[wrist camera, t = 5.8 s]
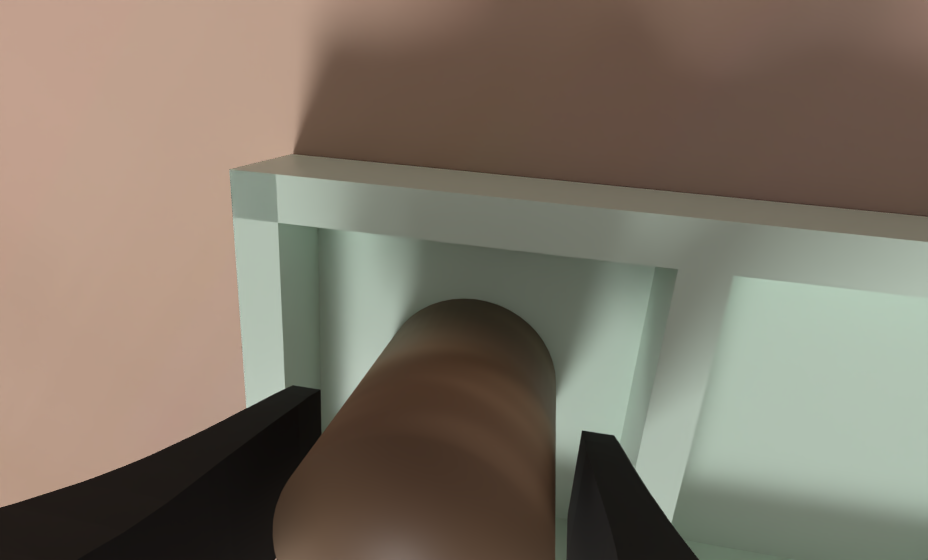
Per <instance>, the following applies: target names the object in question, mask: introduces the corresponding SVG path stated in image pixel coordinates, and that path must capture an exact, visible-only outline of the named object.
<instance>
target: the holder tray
mask: <svg viewBox="0 0 928 560" xmlns="http://www.w3.org/2000/svg"><path fill="white" fill-rule="evenodd" d="M229 170H230V184H231V198H232V212H233V226H234V240H235V254H236V268H237V282H238V296H239V310H240V324H241V338H242V352H243V366H244V380H245V394H246V408H248V407H250V406H252V405H254V404H256V403H258V402H260V401H261V400H263V399H265V398H267V397H269V396H271V395H273V394H275V393H277V392H279V391H281V390H283V389H286V388H288V387H290V386H292V385H295V386H301V387H308V388H314V389H320V390H321V432H322V433H323V432H324V431H325V429H326V428H327V426H328V425H329V424H330V422H331V421H332V420H333V418H334V417H335V416H336V414H337V413H338V411H339V410H340V409H341V407H342V406H343V405H344V403H345V402H346V401H347V399H348V398H349V396H350V395H351V394H352V392H353V391H354V390H355V388H356V387H357V386H358V384H359V383H360V382H361V380H362V379H363V377H364V376H365V375H366V373H367V372H368V371H369V369H370V368H371V367H372V365H373V364H374V362H375V361H376V360H377V358H378V357H379V356H380V354H381V353H382V352H383V350H384V349H385V347H386V346H387V345H388V343H389V342H390V341H391V339H392V338H393V337H394V335H395V334H396V333H397V331H398V330H399V329H400V327H401V326H402V325H403V324H404V323H405V322H406V321H407V320H408V319H409V318H410V317H411V316H412V315H414V314H415V313H417V312H418V311H420V310H421V309H423V308H425V307H427V306H429V305H432V304H435V303H438V302H441V301H446V300H451V299H463V298H464V299H477V300H483V301H488V302H491V303H494V304H497V305H500V306H502V307H504V308H506V309H508V310H510V311H512V312H513V313H515V314H517V315H518V316H520V317H521V318H522V319H523V320H525V321H526V322H527V323H528V324H529V325H530V326H531V327H532V328H533V329H534V330H535V331H536V332H537V333H538V335H539V336H540V337H541V339H542V340H543V341H544V343H545V345H546V347H547V349H548V351H549V353H550V355H551V358H552V361H553V365H554V369H555V376H556V498H555V560H566V552H567V516H568V509H569V503H570V497H571V491H572V486H573V480H574V474H575V468H576V462H577V456H578V451H579V445H580V439H581V433H582V430H583V431H590V432H596V433H602V434H609V435H614V436H615V437H616V439H617V440H618V441H619V443H620V445H621V446H622V448H623V450H624V451H625V453H626V455H627V457H628V458H629V460H630V462H631V463H632V465H633V467H634V468H635V470H636V471H637V473H638V475H639V476H640V478H641V479H642V481H643V483H644V484H645V486H646V487H647V489H648V490H649V492H650V493H651V495H652V496H653V498H654V499H655V501H656V502H657V503H658V505H659V506H660V508H661V509H662V511H663V512H664V514H665V515H666V516H667V518H668V519H669V521H670V522H671V523H672V525H673V526H674V528H675V529H676V530H677V532H678V533H679V534H680V536H681V537H682V538H683V540H684V541H685V542H686V543H687V545H688V546H689V547H690V549H691V550H692V551H693V552H694V554H695V555H696V556H697V558H698V559H699V560H928V217H925V216H915V215H905V214H895V213H885V212H875V211H865V210H854V209H844V208H834V207H824V206H814V205H804V204H794V203H783V202H773V201H763V200H753V199H743V198H733V197H723V196H712V195H702V194H692V193H682V192H672V191H662V190H652V189H641V188H631V187H621V186H611V185H601V184H591V183H581V182H571V181H560V180H550V179H540V178H530V177H520V176H510V175H500V174H489V173H479V172H469V171H459V170H449V169H439V168H429V167H418V166H408V165H398V164H388V163H378V162H368V161H358V160H347V159H337V158H327V157H317V156H307V155H297V154H290V155H286V156H282V157H278V158H274V159H270V160H266V161H262V162H258V163H254V164H249V165H245V166H241V167H237V168H233V169H229Z"/></svg>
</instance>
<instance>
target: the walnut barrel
mask: <svg viewBox="0 0 928 560" xmlns="http://www.w3.org/2000/svg"><path fill="white" fill-rule="evenodd" d="M555 498H556V376H555V369H554V365H553V361H552V358H551V355H550V353H549V351H548V349H547V347H546V345H545V343H544V341H543V340H542V339H541V337H540V336H539V335H538V333H537V332H536V331H535V330H534V329H533V328H532V327H531V326H530V325H529V324H528V323H527V322H526V321H525V320H523V319H522V318H521V317H520V316H518V315H517V314H515V313H513V312H512V311H510V310H508V309H506V308H504V307H502V306H500V305H497V304H494V303H491V302H488V301H483V300H477V299H464V298H463V299H451V300H446V301H441V302H438V303H435V304H432V305H429V306H427V307H425V308H423V309H421V310H420V311H418V312H417V313H415V314H414V315H412V316H411V317H410V318H409V319H408V320H407V321H406V322H405V323H404V324H403V325H402V326H401V327H400V329H399V330H398V331H397V333H396V334H395V335H394V337H393V338H392V339H391V341H390V342H389V343H388V345H387V346H386V347H385V349H384V350H383V352H382V353H381V354H380V356H379V357H378V358H377V360H376V361H375V362H374V364H373V365H372V367H371V368H370V369H369V371H368V372H367V373H366V375H365V376H364V377H363V379H362V380H361V382H360V383H359V384H358V386H357V387H356V388H355V390H354V391H353V392H352V394H351V395H350V396H349V398H348V399H347V401H346V402H345V403H344V405H343V406H342V407H341V409H340V410H339V411H338V413H337V414H336V416H335V417H334V418H333V420H332V421H331V422H330V424H329V425H328V426H327V428H326V429H325V431H324V432H323V433H322V435H321V436H320V437H319V439H318V440H317V441H316V443H315V444H314V446H313V447H312V448H311V450H310V451H309V452H308V454H307V455H306V456H305V458H304V459H303V460H302V462H301V463H300V465H299V466H298V467H297V469H296V470H295V471H294V473H293V474H292V475H291V477H290V478H289V480H288V481H287V483H286V485H285V486H284V488H283V490H282V492H281V494H280V497H279V499H278V502H277V505H276V508H275V513H274V518H273V544H274V551H275V555H276V559H277V560H555Z"/></svg>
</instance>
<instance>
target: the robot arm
mask: <svg viewBox="0 0 928 560" xmlns="http://www.w3.org/2000/svg"><path fill="white" fill-rule="evenodd" d="M321 435H322V432H321V390H320V389H314V388H308V387H301V386H295V385H292V386H290V387H288V388H286V389H283V390H281V391H279V392H277V393H275V394H273V395H271V396H269V397H267V398H265V399H263V400H261V401H260V402H258V403H256V404H254V405H252V406H250V407H248V408H246V409H244V410H242V411H240V412H239V413H237V414H235V415H233V416H231V417H229V418H227V419H225V420H223V421H221V422H219V423H217V424H215V425H213V426H211V427H210V428H208V429H206V430H203V431H201V432H199V433H197V434H195V435H193V436H191V437H189V438H186V439H184V440H182V441H180V442H178V443H176V444H174V445H172V446H169V447H167V448H165V449H163V450H161V451H159V452H157V453H155V454H152V455H150V456H148V457H145V458H143V459H141V460H138V461H136V462H133V463H131V464H128V465H126V466H124V467H121V468H118V469H116V470H113V471H110V472H108V473H105V474H103V475H100V476H97V477H95V478H92V479H89V480H86V481H84V482H81V483H78V484H75V485H72V486H68V487H65V488H62V489H59V490H56V491H53V492H50V493H47V494H43V495H40V496H37V497H34V498H31V499H28V500H25V501H22V502H18V503H15V504H12V505H8V506H5V507H1V508H0V560H275V558H276V555H275V551H274V544H273V518H274V513H275V508H276V505H277V502H278V499H279V497H280V494H281V492H282V490H283V488H284V486H285V485H286V483H287V481H288V480H289V478H290V477H291V475H292V474H293V473H294V471H295V470H296V469H297V467H298V466H299V465H300V463H301V462H302V460H303V459H304V458H305V456H306V455H307V454H308V452H309V451H310V450H311V448H312V447H313V446H314V444H315V443H316V441H317V440H318V439H319V437H320V436H321ZM566 560H699V559H698V558H697V556H696V555H695V554H694V552H693V551H692V550H691V549H690V547H689V546H688V545H687V543H686V542H685V541H684V540H683V538H682V537H681V536H680V534H679V533H678V532H677V530H676V529H675V528H674V526H673V525H672V523H671V522H670V521H669V519H668V518H667V516H666V515H665V514H664V512H663V511H662V509H661V508H660V506H659V505H658V503H657V502H656V501H655V499H654V498H653V496H652V495H651V493H650V492H649V490H648V489H647V487H646V486H645V484H644V483H643V481H642V479H641V478H640V476H639V475H638V473H637V471H636V470H635V468H634V467H633V465H632V463H631V462H630V460H629V458H628V457H627V455H626V453H625V451H624V450H623V448H622V446H621V445H620V443H619V441H618V440H617V439H616V437H615V436H614V435H609V434H602V433H596V432H590V431H583V430H582V433H581V439H580V445H579V451H578V456H577V462H576V468H575V474H574V480H573V486H572V491H571V497H570V503H569V509H568V516H567V552H566Z"/></svg>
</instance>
